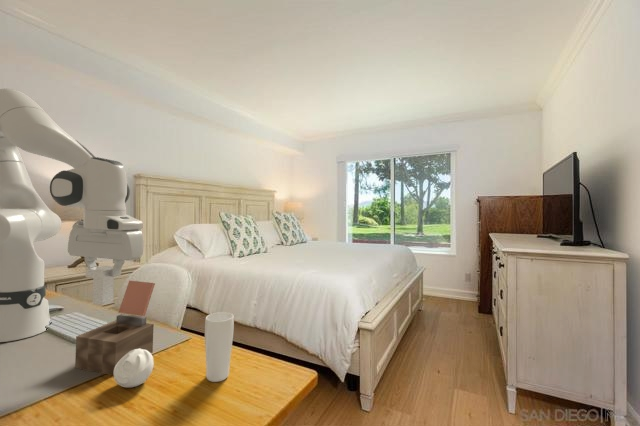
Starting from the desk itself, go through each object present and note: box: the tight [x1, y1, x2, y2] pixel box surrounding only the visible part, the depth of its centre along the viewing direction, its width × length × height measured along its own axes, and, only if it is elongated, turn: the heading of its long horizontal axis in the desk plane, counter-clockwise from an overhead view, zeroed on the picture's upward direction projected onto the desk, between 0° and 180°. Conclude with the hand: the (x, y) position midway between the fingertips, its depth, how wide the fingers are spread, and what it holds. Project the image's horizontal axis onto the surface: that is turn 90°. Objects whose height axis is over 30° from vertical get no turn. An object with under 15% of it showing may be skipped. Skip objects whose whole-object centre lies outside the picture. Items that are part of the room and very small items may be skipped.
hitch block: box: [74, 313, 154, 376], centre depth 78 cm, size 12×12×10 cm
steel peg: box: [85, 265, 122, 306], centre depth 75 cm, size 5×5×9 cm
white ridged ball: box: [113, 348, 155, 389], centre depth 68 cm, size 8×8×8 cm
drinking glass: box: [204, 311, 235, 383], centre depth 72 cm, size 7×7×15 cm
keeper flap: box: [118, 280, 156, 317], centre depth 84 cm, size 9×8×1 cm
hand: (104, 275), depth 75 cm, fingers closed on steel peg, 5 cm apart
